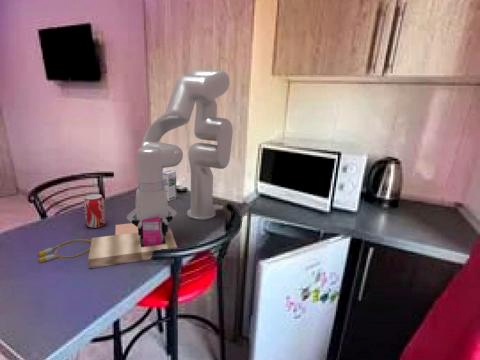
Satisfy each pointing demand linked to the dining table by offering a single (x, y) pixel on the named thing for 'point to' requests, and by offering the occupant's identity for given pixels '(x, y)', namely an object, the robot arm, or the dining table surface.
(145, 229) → the supplement box
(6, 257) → the dining table surface
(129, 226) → the mat
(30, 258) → the dining table surface
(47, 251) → the extension cord
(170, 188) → the syrup box
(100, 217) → the soda can
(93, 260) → the wooden cutout board
